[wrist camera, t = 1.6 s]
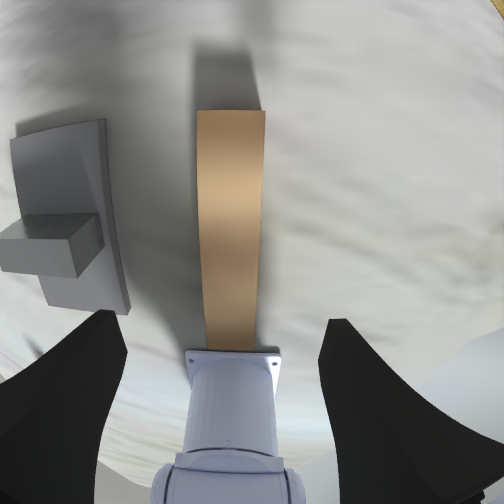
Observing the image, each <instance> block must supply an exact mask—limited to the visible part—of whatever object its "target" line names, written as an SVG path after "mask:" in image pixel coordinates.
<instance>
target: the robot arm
mask: <svg viewBox="0 0 504 504" xmlns="http://www.w3.org/2000/svg"><path fill="white" fill-rule="evenodd" d="M127 353H128V351H127V348H126V346H125V343H124V340H123V336H122V333H121V330H120V327H119V324H118V321H117V317H116V314H115V311H113V310H104V309H99V310H98V311H96V312H95V313H94V314H92V315H91V316H90V317H89V318H88V319H86V320H85V321H84V322H83V323H82V324H80V325H79V326H78V327H77V328H76V329H74V330H73V331H72V332H71V333H70V334H68V335H67V336H66V337H65V338H64V339H63V340H61V341H60V342H59V343H58V344H57V345H55V346H54V347H53V348H52V349H50V350H49V351H48V352H46V353H45V354H44V355H43V356H41V357H40V358H39V359H38V360H36V361H35V362H34V363H32V364H31V365H30V366H28V367H27V368H25V369H24V370H22V371H21V372H19V373H18V374H16V375H15V376H13V377H11V378H10V379H8V380H6V381H5V382H3V383H1V384H0V504H94V487H95V473H96V465H97V458H98V452H99V446H100V441H101V436H102V432H103V428H104V425H105V422H106V419H107V416H108V414H109V411H110V408H111V405H112V402H113V400H114V397H115V394H116V391H117V389H118V386H119V383H120V380H121V378H122V374H123V370H124V366H125V362H126V357H127ZM185 359H186V365H187V370H188V375H189V380H190V385H191V390H192V391H191V398H190V404H189V410H188V417H187V423H186V430H185V437H184V444H183V451H182V453H176V458H175V464H174V463H167V464H165V465H164V466H163V467H162V468H161V469H160V470H158V472H157V473H156V475H155V478H154V480H153V484H152V489H151V496H150V504H306V497H305V490H304V485H303V481H302V479H301V477H300V475H299V474H297V473H296V472H295V471H294V470H293V469H292V468H284V464H283V457H278V447H277V432H276V418H275V404H274V400H275V394H276V389H277V383H278V377H279V371H280V365H281V355H280V354H278V353H234V352H211V351H194V350H188V351H187V352H186V353H185ZM191 359H193V360H191ZM318 365H319V374H320V382H321V388H322V392H323V396H324V400H325V404H326V408H327V412H328V416H329V420H330V424H331V428H332V432H333V436H334V441H335V447H336V453H337V462H338V473H339V488H340V504H481V502H480V501H481V500H483V499H484V498H485V495H484V492H483V490H484V489H486V488H487V487H489V486H490V485H492V484H494V483H495V482H497V481H498V480H499V479H501V478H502V477H504V444H502V443H500V442H497V441H495V440H492V439H490V438H488V437H485V436H483V435H481V434H479V433H477V432H475V431H473V430H471V429H469V428H467V427H466V426H464V425H462V424H460V423H459V422H457V421H455V420H454V419H452V418H451V417H449V416H448V415H446V414H445V413H443V412H442V411H440V410H439V409H437V408H436V407H435V406H433V405H432V404H431V403H429V402H428V401H427V400H426V399H424V398H423V397H422V396H421V395H420V394H418V393H417V392H416V391H415V390H414V389H412V388H411V387H410V386H409V385H408V384H407V383H406V382H405V381H404V380H403V379H402V378H401V377H400V376H398V375H397V374H396V373H395V372H394V371H393V370H392V369H391V368H390V367H389V366H388V365H387V364H386V362H385V361H384V360H383V359H382V358H381V357H380V356H379V355H378V354H377V353H376V352H375V351H374V350H373V348H372V347H371V346H370V345H369V344H368V343H367V342H366V341H365V339H364V338H363V337H362V336H361V335H360V334H359V333H358V331H357V330H356V329H355V328H354V327H353V326H352V324H351V323H350V322H349V321H348V320H347V319H329V321H328V325H327V329H326V332H325V336H324V340H323V344H322V347H321V351H320V355H319V358H318ZM484 504H504V492H502V493H501V494H499V495H497V496H496V497H494V498H493V499H491V500H490V501H488V502H486V503H484Z"/></svg>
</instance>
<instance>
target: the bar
mask: <svg viewBox="0 0 504 504" xmlns="http://www.w3.org/2000/svg"><path fill="white" fill-rule="evenodd" d="M264 135H265V111H256V110H197V188H198V219H199V241H200V260H201V276H202V291H203V304H204V316H205V328H206V339H207V349H225V350H254V342H255V323H256V304H257V285H258V265H259V245H260V224H261V203H262V181H263V158H264Z"/></svg>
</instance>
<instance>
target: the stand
mask: <svg viewBox="0 0 504 504" xmlns="http://www.w3.org/2000/svg"><path fill="white" fill-rule="evenodd" d="M10 145H11V156H12V165H13V172H14V179H15V186H16V192H17V197H18V203H19V208H20V213H21V217H22V218H20V219H19V220H18V221H16V222H15V223H13V224H12V225H10V226H9V227H7V228H6V229H5V230H3V231H2V232H1V233H0V266H1V269H2V271H4V272H13V273H22V274H32V275H38V278H39V281H40V284H41V287H42V290H43V292H44V295H45V298H46V301H47V303H48V305H49V306H55V307H62V308H68V309H76V310H83V311H91V312H96V311H98V310H99V309H104V310H113V311H115V314H117V315H126V316H127V315H128V313H129V311H130V309H131V305H130V301H129V296H128V292H127V288H126V283H125V279H124V274H123V269H122V264H121V259H120V253H119V248H118V242H117V236H116V230H115V223H114V217H113V209H112V202H111V193H110V184H109V174H108V162H107V148H106V128H105V119H101V120H95V121H89V122H83V123H77V124H72V125H67V126H62V127H58V128H53V129H49V130H45V131H40V132H36V133H32V134H29V135H25V136H21V137H18V138H14V139H11V140H10Z"/></svg>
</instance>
